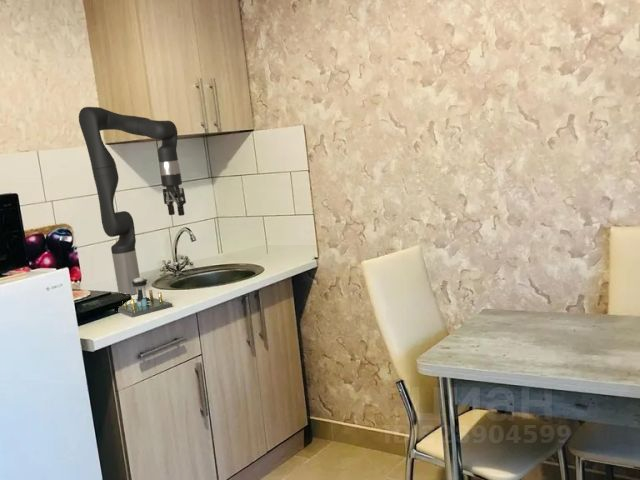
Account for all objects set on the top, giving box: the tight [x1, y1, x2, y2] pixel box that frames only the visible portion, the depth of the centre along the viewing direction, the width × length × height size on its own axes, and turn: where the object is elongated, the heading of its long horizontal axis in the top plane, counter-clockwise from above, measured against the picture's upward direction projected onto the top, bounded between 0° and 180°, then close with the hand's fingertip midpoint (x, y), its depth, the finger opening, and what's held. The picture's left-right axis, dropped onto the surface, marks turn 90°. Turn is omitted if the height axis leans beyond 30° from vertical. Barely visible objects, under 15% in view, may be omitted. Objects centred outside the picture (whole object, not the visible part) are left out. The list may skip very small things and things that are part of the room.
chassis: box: [117, 289, 173, 318], centre depth 233 cm, size 16×15×5 cm
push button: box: [132, 276, 151, 306], centre depth 232 cm, size 7×5×10 cm
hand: (176, 215), depth 251 cm, fingers open, 8 cm apart
